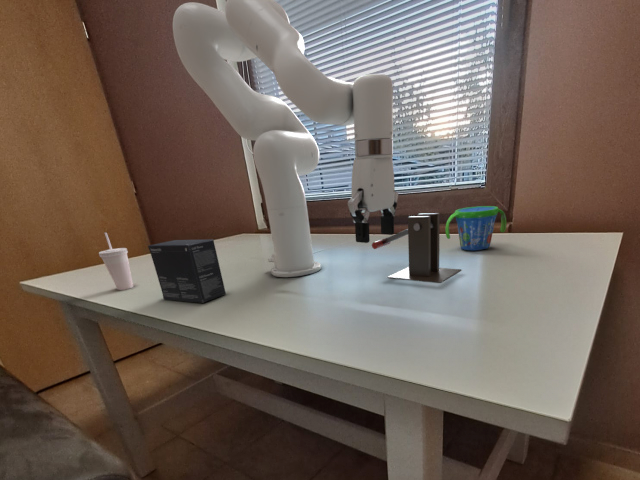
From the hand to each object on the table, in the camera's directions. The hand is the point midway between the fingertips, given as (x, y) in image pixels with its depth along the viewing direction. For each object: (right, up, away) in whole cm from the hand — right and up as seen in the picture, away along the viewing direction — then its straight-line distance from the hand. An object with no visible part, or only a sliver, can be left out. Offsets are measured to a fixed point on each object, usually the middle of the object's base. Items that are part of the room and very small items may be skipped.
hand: (375, 238), depth 83 cm
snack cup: (+28, +2, +19) cm, 34 cm away
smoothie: (-64, -9, +15) cm, 66 cm away
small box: (-40, -13, +1) cm, 42 cm away
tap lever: (+6, -1, -4) cm, 7 cm away
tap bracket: (+10, -9, -3) cm, 14 cm away
